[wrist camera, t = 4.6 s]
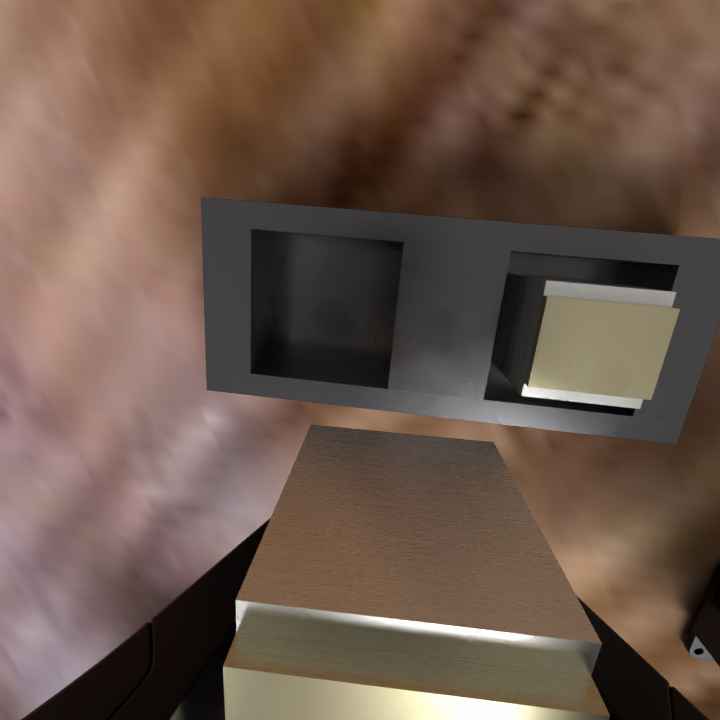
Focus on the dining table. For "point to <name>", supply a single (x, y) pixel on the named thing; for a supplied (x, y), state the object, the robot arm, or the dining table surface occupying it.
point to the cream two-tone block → (407, 593)
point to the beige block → (583, 339)
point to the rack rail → (428, 311)
